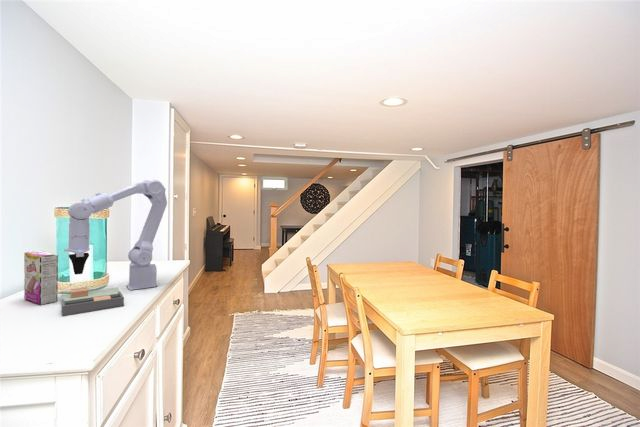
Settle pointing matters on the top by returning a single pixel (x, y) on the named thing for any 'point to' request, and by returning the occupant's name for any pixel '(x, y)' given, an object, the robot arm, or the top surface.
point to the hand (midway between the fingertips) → (78, 273)
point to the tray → (91, 305)
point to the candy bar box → (40, 277)
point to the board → (92, 295)
